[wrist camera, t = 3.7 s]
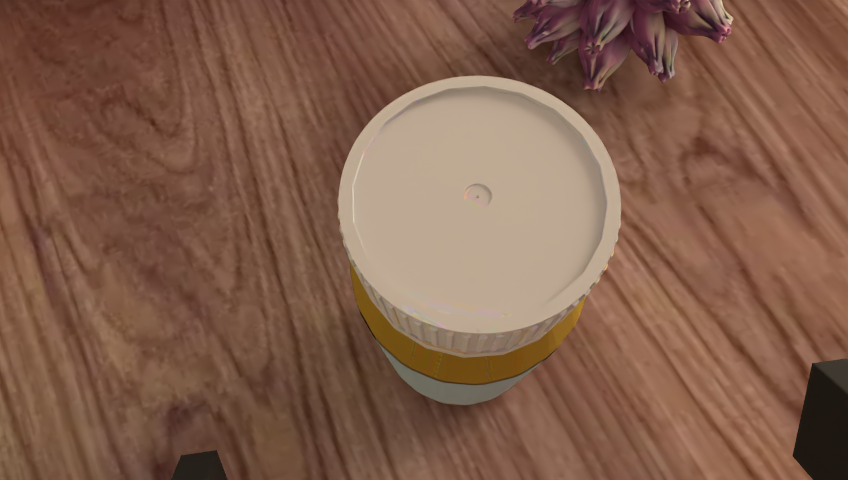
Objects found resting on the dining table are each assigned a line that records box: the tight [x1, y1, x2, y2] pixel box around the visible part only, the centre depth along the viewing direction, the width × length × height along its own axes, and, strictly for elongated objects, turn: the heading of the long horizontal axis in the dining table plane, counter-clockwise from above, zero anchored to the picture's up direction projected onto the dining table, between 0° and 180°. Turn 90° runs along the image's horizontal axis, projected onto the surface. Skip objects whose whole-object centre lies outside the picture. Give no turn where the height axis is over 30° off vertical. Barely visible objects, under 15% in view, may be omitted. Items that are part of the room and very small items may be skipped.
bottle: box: [338, 76, 621, 405], centre depth 19 cm, size 7×7×15 cm
